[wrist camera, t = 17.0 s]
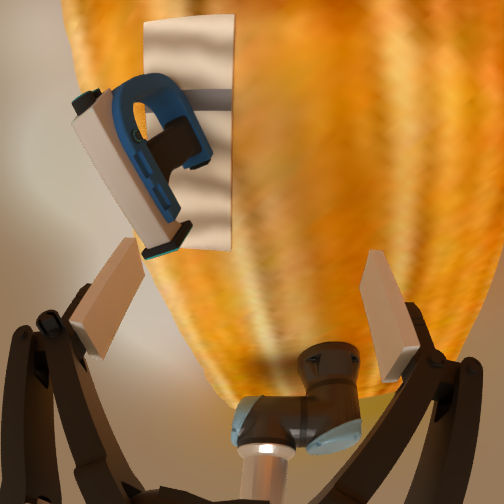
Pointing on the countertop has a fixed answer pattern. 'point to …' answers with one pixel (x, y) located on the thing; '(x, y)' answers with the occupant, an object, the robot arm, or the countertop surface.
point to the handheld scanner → (143, 154)
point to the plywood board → (199, 117)
